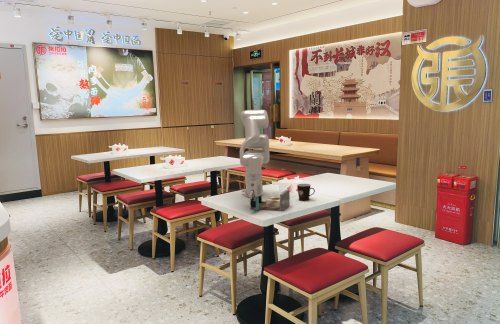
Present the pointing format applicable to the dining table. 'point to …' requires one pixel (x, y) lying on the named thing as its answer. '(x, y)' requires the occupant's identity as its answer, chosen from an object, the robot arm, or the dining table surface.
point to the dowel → (257, 204)
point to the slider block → (273, 202)
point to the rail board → (283, 203)
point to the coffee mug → (304, 191)
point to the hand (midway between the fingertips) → (256, 205)
